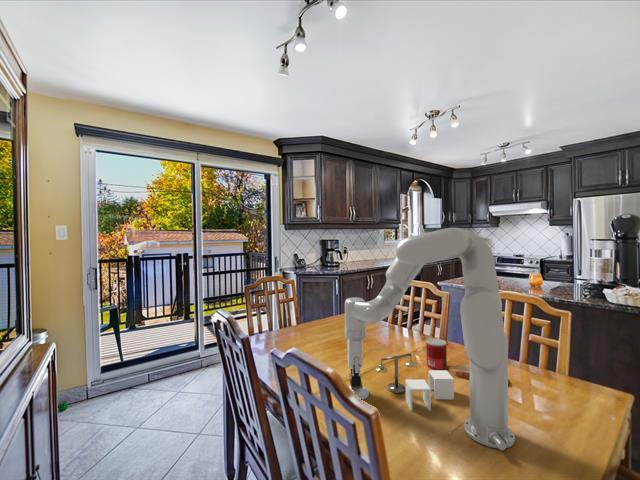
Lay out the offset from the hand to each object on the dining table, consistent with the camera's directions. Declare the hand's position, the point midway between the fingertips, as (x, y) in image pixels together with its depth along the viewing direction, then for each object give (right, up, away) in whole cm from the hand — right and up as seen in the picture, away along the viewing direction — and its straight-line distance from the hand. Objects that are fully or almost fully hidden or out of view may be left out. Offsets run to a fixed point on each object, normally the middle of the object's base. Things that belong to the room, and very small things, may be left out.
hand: (355, 382), depth 108 cm
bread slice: (+50, -3, +11) cm, 51 cm away
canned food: (+37, -3, +20) cm, 42 cm away
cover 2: (+30, -3, -2) cm, 31 cm away
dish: (0, -4, 0) cm, 4 cm away
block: (0, -1, 0) cm, 1 cm away
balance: (+15, -4, +2) cm, 16 cm away
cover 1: (+20, -4, -8) cm, 22 cm away
